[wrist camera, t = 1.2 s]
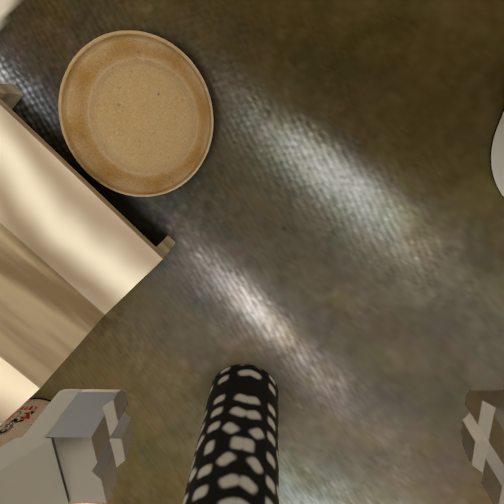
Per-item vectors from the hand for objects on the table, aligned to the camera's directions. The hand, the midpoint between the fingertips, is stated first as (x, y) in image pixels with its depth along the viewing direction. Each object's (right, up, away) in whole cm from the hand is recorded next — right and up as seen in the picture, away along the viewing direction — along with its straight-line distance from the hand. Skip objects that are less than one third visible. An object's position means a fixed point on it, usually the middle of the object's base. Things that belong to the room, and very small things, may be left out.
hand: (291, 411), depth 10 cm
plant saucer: (-12, +17, +30) cm, 37 cm away
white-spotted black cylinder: (-2, -13, +39) cm, 42 cm away
